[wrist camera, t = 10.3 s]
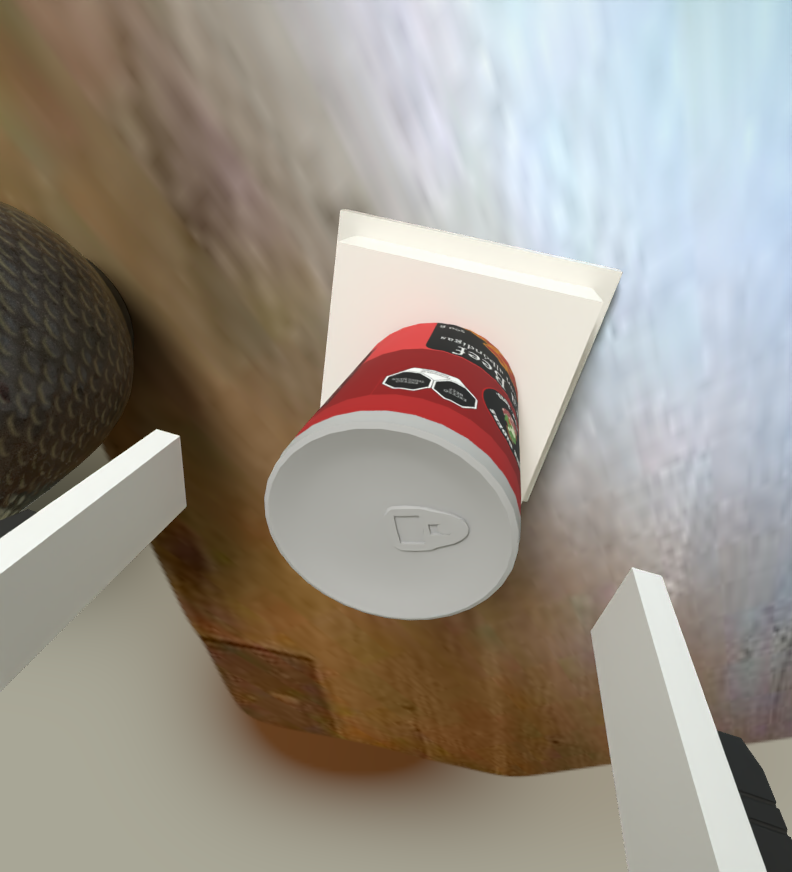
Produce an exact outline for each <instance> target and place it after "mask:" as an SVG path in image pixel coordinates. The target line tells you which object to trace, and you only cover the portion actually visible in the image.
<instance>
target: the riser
mask: <svg viewBox="0 0 792 872" xmlns="http://www.w3.org/2000/svg"><path fill="white" fill-rule="evenodd" d="M622 273H623V272H622V271H620V270H619V269H616V268H611V267H607V266H602V265H598V264H593V263H589V262H584V261H580V260H575V259H571V258H566V257H562V256H557V255H552V254H548V253H543V252H539V251H534V250H530V249H525V248H521V247H516V246H512V245H507V244H503V243H498V242H493V241H489V240H484V239H480V238H475V237H471V236H466V235H462V234H457V233H453V232H448V231H444V230H439V229H434V228H430V227H425V226H421V225H416V224H412V223H407V222H403V221H398V220H394V219H389V218H385V217H380V216H375V215H371V214H366V213H362V212H357V211H353V210H348V209H344V210H340V220H339V229H338V239H337V249H336V259H335V268H334V278H333V288H332V298H331V307H330V317H329V327H328V337H327V346H326V356H325V366H324V376H323V385H322V395H321V405H320V408H321V407H322V406H323V404H324V403H325V402H326V401H327V400H328V399H329V398H330V397H331V395H332V394H333V393H334V392H335V391H336V390H337V389H338V388H339V386H340V385H341V384H342V383H343V382H344V381H345V380H346V379H347V377H348V376H349V375H350V374H351V373H352V372H353V371H354V369H355V368H356V367H357V366H358V365H359V364H360V363H361V362H362V360H363V359H364V358H365V357H366V356H367V355H368V354H369V353H370V351H371V350H372V349H373V348H374V347H375V346H376V345H377V344H378V343H379V342H380V341H382V340H383V339H384V338H386V337H387V336H388V335H390V334H392V333H394V332H396V331H398V330H400V329H402V328H404V327H408V326H412V325H416V324H420V323H444V324H452V325H456V326H459V327H462V328H465V329H468V330H471V331H473V332H475V333H476V334H478V335H480V336H482V337H484V338H485V339H487V340H488V341H489V342H490V343H491V344H492V345H494V346H495V347H496V348H497V349H498V350H499V351H500V353H501V354H502V355H503V356H504V358H505V359H506V360H507V362H508V363H509V366H510V368H511V370H512V372H513V374H514V376H515V381H516V386H517V390H518V416H519V446H520V476H521V503H522V501H525V502H527V501H528V499H529V496H530V494H531V492H532V489H533V487H534V484H535V482H536V480H537V477H538V475H539V472H540V470H541V468H542V465H543V463H544V460H545V458H546V456H547V453H548V451H549V448H550V446H551V444H552V441H553V439H554V436H555V434H556V432H557V429H558V427H559V424H560V422H561V420H562V417H563V415H564V412H565V410H566V408H567V405H568V403H569V400H570V398H571V395H572V393H573V391H574V388H575V386H576V383H577V381H578V379H579V376H580V374H581V371H582V369H583V367H584V364H585V362H586V359H587V357H588V355H589V352H590V350H591V347H592V345H593V343H594V340H595V338H596V335H597V333H598V331H599V328H600V326H601V323H602V321H603V319H604V316H605V314H606V311H607V309H608V307H609V304H610V302H611V299H612V297H613V295H614V292H615V290H616V287H617V285H618V283H619V280H620V278H621V275H622Z"/></svg>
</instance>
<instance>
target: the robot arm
mask: <svg viewBox="0 0 792 872" xmlns="http://www.w3.org/2000/svg"><path fill="white" fill-rule="evenodd" d="M186 507H187V505H186V494H185V484H184V473H183V463H182V452H181V441H180V436H178V435H175V434H172V433H168V432H165V431H161V430H158V429H156V430H155V431H153V432H152V433H150V434H149V435H147V436H146V437H145V438H143V439H142V440H140V441H139V442H137V443H136V444H135V445H133V446H132V447H130V448H129V449H127V450H126V451H125V452H123V453H122V454H120V455H119V456H117V457H116V458H115V459H113V460H112V461H110V462H109V463H107V464H106V465H105V466H103V467H102V468H100V469H99V470H97V471H96V472H95V473H93V474H92V475H90V476H89V477H87V478H86V479H85V480H83V481H82V482H80V483H79V484H78V485H76V486H75V487H73V488H72V489H70V490H69V491H67V492H66V493H65V494H64V495H62V496H60V497H59V498H58V499H56V500H55V501H53V502H52V503H50V504H49V505H47V506H46V507H45V508H43V509H42V510H40V511H39V512H35V511H32V510H28V509H27V510H25V511H22V512H20V513H17V514H15V515H12V516H10V517H7V518H5V519H2V520H0V692H1V691H2V690H3V689H4V688H5V687H6V686H7V685H8V684H9V683H10V682H11V681H12V679H14V678H15V677H16V676H17V675H18V674H19V673H20V672H21V671H22V670H23V668H25V667H26V666H27V665H28V664H29V663H30V662H31V661H32V660H33V659H34V658H35V657H36V656H37V655H38V654H39V653H40V652H41V651H42V650H43V649H44V648H45V647H46V646H47V645H48V644H49V643H50V642H51V641H52V640H53V639H54V638H55V637H56V636H57V635H58V634H59V633H60V632H61V631H62V630H63V629H64V628H65V627H66V626H67V625H68V624H69V623H70V622H71V621H72V620H73V619H74V618H75V617H76V616H77V615H78V614H79V613H80V612H81V611H82V610H83V609H84V608H85V607H86V606H87V605H88V604H89V603H90V602H91V601H92V600H93V599H94V598H95V597H96V596H97V595H98V594H99V593H100V592H101V591H102V590H103V589H104V588H105V587H106V586H107V585H108V584H109V583H110V582H111V581H112V580H113V579H114V578H115V577H116V576H117V575H118V574H119V573H120V572H121V571H122V570H123V569H124V568H125V567H126V566H127V565H128V564H129V563H130V562H131V561H132V560H133V559H134V558H135V557H136V556H137V555H138V554H139V553H140V552H141V551H142V550H143V549H144V548H145V547H146V546H147V545H148V544H149V543H150V542H151V541H152V540H153V539H154V538H155V537H156V536H157V535H158V534H159V533H160V532H161V531H162V530H163V529H164V528H165V527H166V526H167V525H168V524H169V523H170V522H172V521H173V520H174V519H175V518H176V517H177V516H178V515H179V514H180V513H181V512H182V511H183V510H184V509H185V508H186ZM591 636H592V643H593V649H594V655H595V662H596V668H597V674H598V681H599V687H600V694H601V700H602V706H603V713H604V719H605V726H606V732H607V738H608V745H609V751H610V758H611V764H612V770H613V777H614V783H615V789H616V796H617V802H618V809H619V815H620V821H621V827H622V834H623V841H624V847H625V853H626V859H627V866H628V872H792V839H791V837H789V836H788V835H787V827H786V825H785V822H784V820H783V817H782V815H781V813H780V810H779V809H778V808H776V805H775V804H776V800H775V798H774V795H773V793H772V791H771V788H770V786H769V783H768V781H767V778H766V776H765V774H764V771H763V769H762V768H761V766H760V765H759V763H758V762H757V761H756V759H755V758H754V756H753V755H752V753H751V752H750V751H749V749H748V748H747V746H746V745H745V743H744V742H743V740H742V739H741V738H739V737H736V736H733V735H729V734H726V733H723V732H720V731H717V730H716V727H715V724H714V722H713V719H712V716H711V713H710V710H709V708H708V705H707V702H706V699H705V696H704V693H703V691H702V688H701V685H700V682H699V679H698V677H697V674H696V671H695V668H694V665H693V663H692V660H691V657H690V654H689V651H688V648H687V646H686V643H685V640H684V637H683V634H682V632H681V629H680V626H679V623H678V620H677V617H676V615H675V612H674V609H673V606H672V603H671V601H670V598H669V595H668V592H667V589H666V587H665V584H664V581H663V578H662V576H660V575H657V574H653V573H650V572H647V571H643V570H640V569H636V568H633V567H632V568H631V570H630V571H629V573H628V574H627V576H626V577H625V579H624V580H623V582H622V584H621V585H620V587H619V588H618V590H617V591H616V593H615V594H614V596H613V597H612V599H611V601H610V602H609V604H608V605H607V607H606V608H605V610H604V611H603V613H602V614H601V616H600V618H599V619H598V621H597V622H596V624H595V625H594V627H593V628H592V630H591Z"/></svg>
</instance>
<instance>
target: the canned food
mask: <svg viewBox="0 0 792 872" xmlns="http://www.w3.org/2000/svg"><path fill="white" fill-rule="evenodd" d="M264 500H265V517H266V520H267V523H268V527H269V530H270V534H271V536H272V538H273V540H274V542H275V544H276V546H277V547H278V549H279V551H280V553H281V554H282V555H283V557H284V558H285V559H286V561H287V562H288V563H289V564H290V566H291V567H292V568H293V569H294V570H295V571H296V572H297V573H298V574H299V575H300V576H301V577H302V578H303V579H304V580H305V581H307V582H308V583H309V584H311V585H312V586H313V587H315V588H316V589H318V590H319V591H320V592H322V593H323V594H325V595H326V596H328V597H330V598H332V599H334V600H336V601H338V602H340V603H341V604H343V605H346V606H348V607H351V608H354V609H356V610H359V611H362V612H364V613H368V614H372V615H377V616H381V617H385V618H393V619H402V620H430V619H436V618H441V617H447V616H452V615H455V614H457V613H460V612H463V611H466V610H469V609H471V608H473V607H474V606H476V605H478V604H479V603H481V602H483V601H485V600H486V599H488V598H489V597H490V596H491V595H492V594H493V593H494V592H495V591H496V590H498V589H499V588H500V587H501V586H502V585H503V583H504V581H505V580H506V578H507V577H508V575H509V574H510V572H511V571H512V569H513V566H514V562H515V559H516V556H517V553H518V544H519V541H520V531H521V476H520V446H519V416H518V390H517V386H516V381H515V376H514V374H513V372H512V370H511V368H510V366H509V363H508V362H507V360H506V359H505V358H504V356H503V355H502V354H501V353H500V351H499V350H498V349H497V348H496V347H495V346H494V345H492V344H491V343H490V342H489V341H488V340H487V339H485V338H484V337H482V336H480V335H478V334H476V333H475V332H473V331H471V330H468V329H465V328H462V327H459V326H456V325H452V324H444V323H420V324H416V325H412V326H408V327H404V328H402V329H400V330H398V331H396V332H394V333H392V334H390V335H388V336H387V337H386V338H384V339H383V340H382V341H380V342H379V343H378V344H377V345H376V346H375V347H374V348H373V349H372V350H371V351H370V353H369V354H368V355H367V356H366V357H365V358H364V359H363V360H362V362H361V363H360V364H359V365H358V366H357V367H356V368H355V369H354V371H353V372H352V373H351V374H350V375H349V376H348V377H347V379H346V380H345V381H344V382H343V383H342V384H341V385H340V386H339V388H338V389H337V390H336V391H335V392H334V393H333V394H332V395H331V397H330V398H329V399H328V400H327V401H326V402H325V403H324V404H323V406H322V407H321V408H320V409H319V410H318V411H317V412H316V413H315V415H314V416H313V417H312V418H311V419H310V420H309V421H308V422H307V424H306V425H305V426H304V427H303V428H302V429H301V431H300V432H299V433H298V434H297V435H296V437H295V438H294V440H293V441H292V442H291V443H290V444H289V445H288V447H287V448H286V449H285V450H284V451H283V452H282V454H281V456H280V459H279V460H278V461H277V463H276V464H275V466H274V468H273V470H272V473H271V475H270V477H269V479H268V482H267V487H266V492H265V498H264Z"/></svg>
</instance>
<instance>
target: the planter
mask: <svg viewBox="0 0 792 872" xmlns="http://www.w3.org/2000/svg"><path fill="white" fill-rule="evenodd" d="M133 347H134V334H133V328H132V323H131V319H130V316H129V313H128V311H127V308H126V306H125V304H124V302H123V300H122V298H121V296H120V295H119V293H118V291H117V290H116V289H115V287H114V286H113V284H112V283H111V282H110V281H109V279H108V278H107V277H106V276H105V275H104V274H103V273H102V272H101V271H100V270H99V269H98V268H97V267H96V266H95V265H94V264H93V263H91V262H90V261H89V260H87V259H86V258H84V257H83V256H82V255H81V254H80V253H79V252H78V251H77V250H76V249H75V248H74V247H72V246H71V245H70V244H69V243H68V242H67V241H66V240H64V239H63V238H62V237H61V236H59V235H58V234H56V233H55V232H54V231H52V230H51V229H50V228H48V227H47V226H45V225H44V224H43V223H41V222H39V221H38V220H36V219H35V218H33V217H31V216H29V215H27V214H26V213H24V212H22V211H20V210H18V209H17V208H15V207H12V206H10V205H8V204H5V203H3V202H0V520H2V519H5V518H7V517H10V516H12V515H15V514H17V513H19V512H20V511H22V510H23V509H24V508H26V507H27V506H28V505H30V504H31V503H32V502H34V501H35V500H36V499H38V498H39V497H40V496H42V495H43V494H44V493H46V492H47V491H48V490H50V489H51V488H52V487H53V486H54V485H56V484H57V483H58V482H59V481H60V480H61V479H63V478H64V477H65V476H66V475H67V474H69V473H70V472H71V471H72V470H74V469H75V468H76V467H77V466H78V465H79V464H81V463H82V462H83V461H84V460H85V459H86V458H87V457H88V456H90V454H92V453H93V452H94V451H95V450H96V449H97V448H98V447H99V446H100V445H101V444H102V442H103V441H104V440H105V439H106V438H107V436H108V435H109V434H110V432H111V431H112V429H113V428H114V426H115V425H116V423H117V422H118V420H119V419H120V417H121V416H122V414H123V412H124V410H125V408H126V405H127V402H128V399H129V397H130V393H131V388H132V381H133V374H134V356H133Z"/></svg>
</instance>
